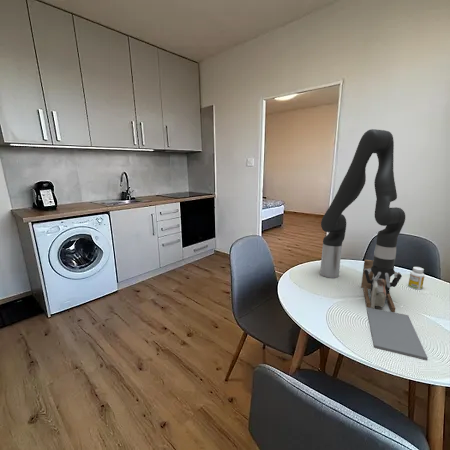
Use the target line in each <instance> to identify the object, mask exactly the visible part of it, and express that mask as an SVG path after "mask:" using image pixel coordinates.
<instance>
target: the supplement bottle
mask: <svg viewBox="0 0 450 450" xmlns="http://www.w3.org/2000/svg"><path fill="white" fill-rule="evenodd" d="M424 270H425V269H424V268H422V267H420V266H413V268H412V270H411V271H410V273H409V278H408V285H407V286H408V287H409V288H411V289H413V290H417V289H418V290H419V291H420V290H422V289H423V285H424V280H425V273H424V272H425V271H424Z"/></svg>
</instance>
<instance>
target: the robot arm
mask: <svg viewBox="0 0 450 450" xmlns="http://www.w3.org/2000/svg"><path fill="white" fill-rule="evenodd" d="M394 143H395V142H394V135H393V134H392V132H390V131H388V130H384V129H373V128H371V129H368V130H367V131H365V132H364V133H363V134H362V136H361V138H360V139H359V143H358V145H357V147H356V149H355V153H354V155H353V157H352V161H351V163H350V165H349V167H348V169H347V172H346V173H345V175H344V177H343V179H342V181H341V183H340V185H339V187H338V190H337V192H336V194H335V196H334V198H333V200H332V201H331V204H330V205H329V206H328V208H327V210H326V211H325V213H324V215H323V217H322V218H321V221H320V226H321V227H320V228H321V229H322V231H324V232H325V233H328V234H326V236H324V237H323V239H322V252H321V261H320V272H319V275H320V276H322V277H326V278H329V279H330V278H332V279H336V278H338V277H339V276H340V267H341V258H342V257H341V256H342V247H343V242H344V240H345V236H346V231H347V219H346V216H345V215H344V214H343V212H344V211H345V210H346V209H348V207H349V206H350V205H351V204H352V203H353V202H355V201H356V200H357V199H358V197H359V196H360V194H361V193H362V191H363V189H364V187H365V185H366V181H367V180H366V178H367V177H366V176H367V174H366V169H367V168H366V167H367V165H368V164H369V163H368V162H369V161H370V158H371V156H372V155H373V154H376V156H377V161H378V167H377V171H376V174H375V176H374V183H373V184H374V191H375V195H376V196H375V198H376V200H375V207H374V220H375V221H376V222H375V223H377V224H378V225H380V226H381V227H382V226H384V227H385V228H384V229H381V230H379V231H378V232H377V235H376V242H375V247H374V252H373V259H372V260H373V266H372V267H371V268H370V269H367V268H364V267H363V268H364V272H365V275H366V279H367V282H368V283H370V284H371V291H372V288H373V283H374V280H375V281H377V280H378V279H385V281H386V285H385V290H386V295H387V294H389V293H390V290H391V288H392V287H393V288H395V287H397V285H398V283H399V281H400V280H401V279H402V273H401V272H397V271H395V264H396V263H395V262H396V256H397V244H398V237H399V235H400V233H401V231H402V229H403V226H404V225H405V223H406V212H405V211H404V209H403V208H401V207H396V206H395V207H390V206H391V203H392V202H394V201H396V200H397V198H398V193H397V192H398V191H397V187H396V181H395V175H394V174H395V173H394V154H395V153H394V149H395V148H394V146H395V145H394ZM371 271H372V272H373V274H374V276H373V279H372V280H370V278H369V274H370V272H371ZM392 276H393V279H392V281H391V277H392ZM389 278H390V280H389ZM390 281H391V282H390Z"/></svg>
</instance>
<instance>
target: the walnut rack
mask: <svg viewBox="0 0 450 450" xmlns="http://www.w3.org/2000/svg"><path fill="white" fill-rule="evenodd" d="M363 261H364V262H363V269H362V278H361V283H360V284H361V286H360V288H362V289H363V290H362V291H363V295H364V300H365V307H366V309H367V308H371V306H370V305H371V303H370V295H369V291H368V290H370V288H371V284H370V283H368V282H367V279H366V275H365V272H364V268H367V269H370V268H371V267H372V266H373V259H364V260H363ZM369 278H370V280H372V278H373V272H372V271H371V272H370V274H369ZM389 280H390V281H391V277H390V278H389ZM384 285H386V281H385V279H384ZM385 300H386V301H387V304H388V307H389V312H394V313H396V309H397V308H396V306H395V303H394V300H393V298H392V296H391V293H390V292H389V294H387V295H386V299H385Z"/></svg>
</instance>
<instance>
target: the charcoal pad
mask: <svg viewBox="0 0 450 450" xmlns="http://www.w3.org/2000/svg"><path fill="white" fill-rule="evenodd" d="M366 312H367V319H368V323H369V328H370V333H371V338H372V340H371V341H372V345H373V348H375V349H379V350H384V351H388V352H392V353H395V354H400V355H404V356H409V357H413V358H416V359H417V358H418V359H419V360H420V359H422V360H425V361H428V356H427V353H426V351H425V349H424V346H423V345H422V343H421V340H420V338H419V336H418V334H417V332H416V329H415V327H414V325H413V323H412V320H411V319H410V316H409V314H403V313H400V312H395V313H394V312H391V311H390V310H382V309H377V308H375V309H373V308H371V307H370V308H367V307H366Z"/></svg>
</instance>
